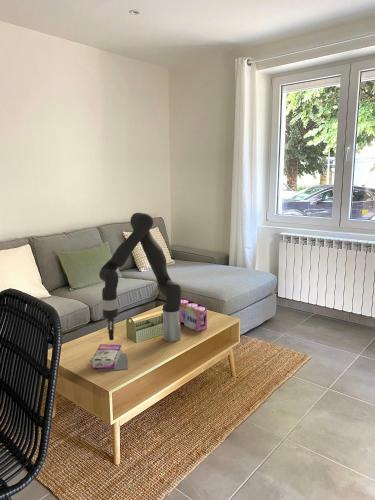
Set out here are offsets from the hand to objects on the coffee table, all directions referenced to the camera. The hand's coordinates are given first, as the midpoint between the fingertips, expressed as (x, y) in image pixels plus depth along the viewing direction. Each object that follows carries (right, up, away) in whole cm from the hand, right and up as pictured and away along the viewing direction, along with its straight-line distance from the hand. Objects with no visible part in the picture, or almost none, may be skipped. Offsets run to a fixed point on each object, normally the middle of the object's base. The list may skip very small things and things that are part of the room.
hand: (111, 339), depth 197 cm
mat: (+2, -10, -5) cm, 12 cm away
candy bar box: (-1, -6, +4) cm, 7 cm away
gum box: (+40, -1, +42) cm, 59 cm away
